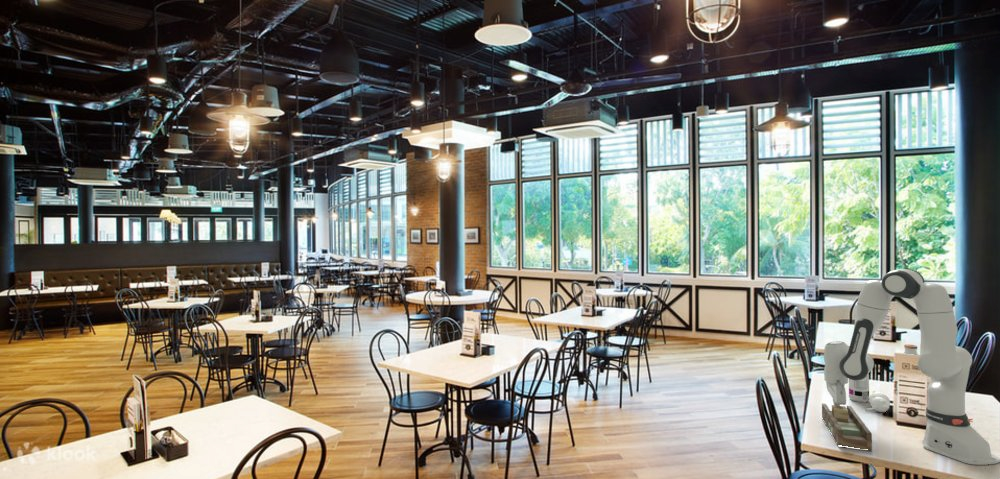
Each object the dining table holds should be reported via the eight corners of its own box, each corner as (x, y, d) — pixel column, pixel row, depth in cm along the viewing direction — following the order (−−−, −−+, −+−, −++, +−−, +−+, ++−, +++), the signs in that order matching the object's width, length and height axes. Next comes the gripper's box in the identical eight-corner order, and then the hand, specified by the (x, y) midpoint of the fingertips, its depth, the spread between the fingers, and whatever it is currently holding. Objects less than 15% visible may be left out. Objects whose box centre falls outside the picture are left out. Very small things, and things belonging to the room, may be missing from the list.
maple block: (831, 414, 221) (831, 405, 221) (845, 415, 219) (845, 406, 219) (834, 418, 217) (834, 408, 217) (848, 419, 215) (847, 410, 215)
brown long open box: (822, 418, 227) (821, 403, 227) (851, 421, 222) (850, 405, 222) (838, 447, 197) (838, 429, 197) (872, 451, 193) (871, 433, 193)
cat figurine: (882, 394, 229) (881, 386, 239) (859, 403, 234) (858, 395, 244) (896, 412, 226) (894, 403, 236) (871, 420, 232) (870, 411, 242)
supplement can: (845, 399, 251) (844, 369, 251) (855, 396, 254) (854, 367, 254) (862, 403, 244) (862, 373, 243) (872, 401, 247) (872, 370, 247)
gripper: (850, 384, 213) (850, 417, 213) (839, 372, 232) (839, 401, 232) (832, 383, 216) (833, 415, 216) (823, 371, 234) (824, 400, 235)
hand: (836, 408), depth 224 cm, fingers closed
